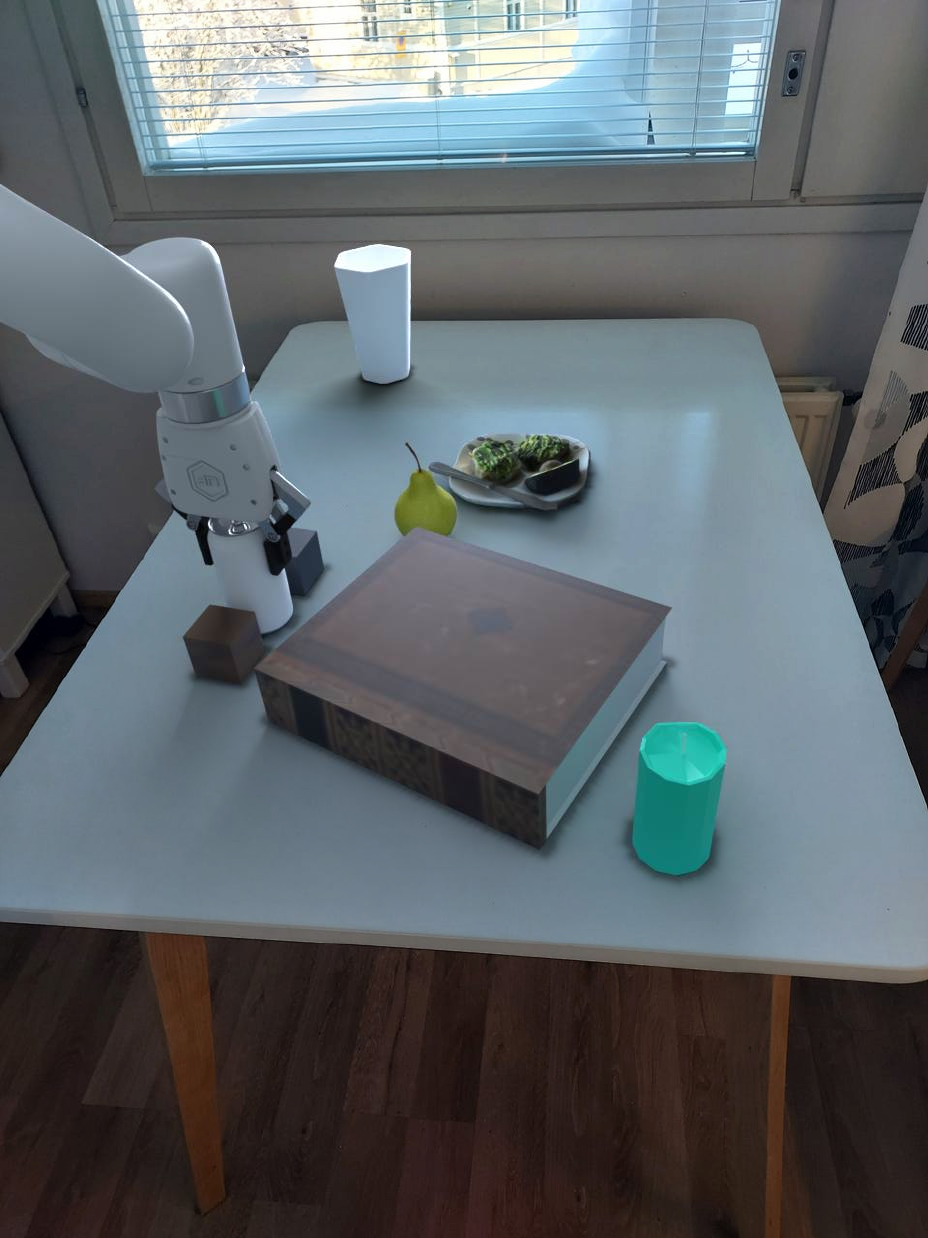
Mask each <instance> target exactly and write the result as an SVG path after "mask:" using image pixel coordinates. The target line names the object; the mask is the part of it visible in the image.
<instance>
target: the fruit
mask: <svg viewBox="0 0 928 1238" xmlns="http://www.w3.org/2000/svg"><path fill="white" fill-rule="evenodd" d="M404 445H405V447H407V448H408V450H409V451H410V453H411V454H412V456H413V457H414V458H415V461H416V464H417V468H416V469H415V470H414V471H412V473H411V474H410V478H409V484H408V486H407V488H405V490H404V491H403V492H402V493H401V494H400V496H399V497H398V498H397V500H396V502H395V506H394V511H393V512H394V514H393V517H394V522H395V525H396V528H397V529H398V531H399V532H400V534H401V535H402V536H403V537H404V536H405V535H407V534H408V533H409V532H410V531H411V530H412V529H413V528H415V527H419V528H422V529H425V530H428V531H431V532H434V533H438V534H441V535H444V536H447V537H450V535H451V534H452V532H453V530H454V528H455V525H456V522H457V518H458V509H457V503H456V500H455V498H454V497H453V496H452V495H451V494H450V492H448V491H447V490H445V489H444V488H442V487H441V486H439V485H438V484H437V483H436V481H435V477H434V476H433V473H432V472H431V471H430V470H429V469H425V468H422V467H421V464H420V461H419V459H418V458H419V457H418V456H417V454H416V452H415V451H414V449H413V448H412V447H411V445H410V444H409V442H408V441H406V442H405V443H404Z"/></svg>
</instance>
